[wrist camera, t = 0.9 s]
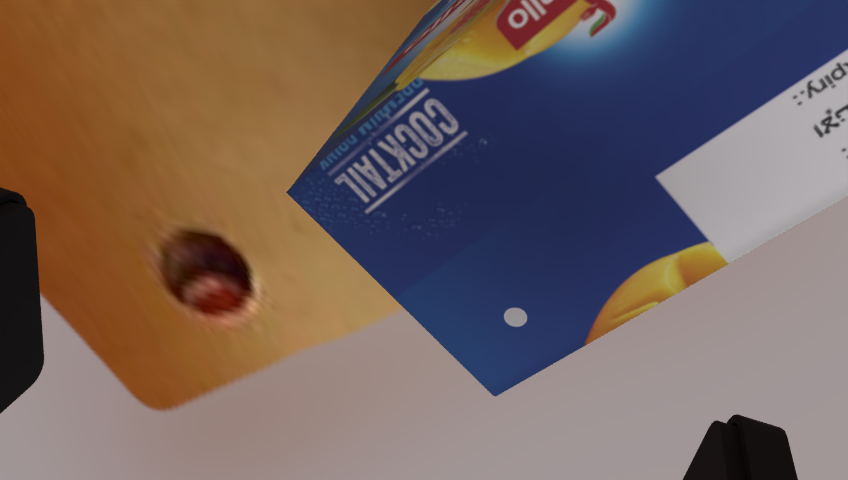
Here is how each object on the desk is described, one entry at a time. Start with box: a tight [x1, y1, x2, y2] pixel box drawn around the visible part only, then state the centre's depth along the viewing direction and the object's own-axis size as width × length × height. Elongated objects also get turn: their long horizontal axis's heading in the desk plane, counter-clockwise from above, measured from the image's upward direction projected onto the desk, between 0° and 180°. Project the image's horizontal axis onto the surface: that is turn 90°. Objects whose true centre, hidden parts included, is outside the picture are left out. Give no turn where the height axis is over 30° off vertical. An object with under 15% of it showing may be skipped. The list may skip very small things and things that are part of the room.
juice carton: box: [287, 0, 848, 396], centre depth 27 cm, size 12×8×24 cm, turn 133°
